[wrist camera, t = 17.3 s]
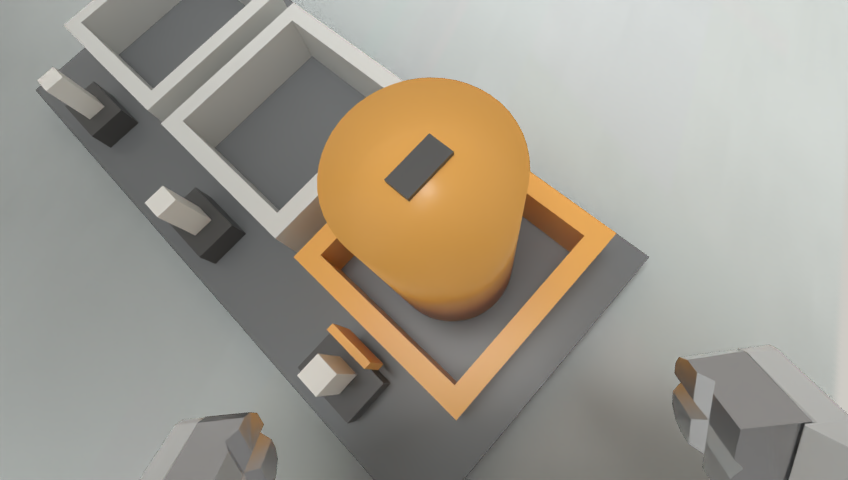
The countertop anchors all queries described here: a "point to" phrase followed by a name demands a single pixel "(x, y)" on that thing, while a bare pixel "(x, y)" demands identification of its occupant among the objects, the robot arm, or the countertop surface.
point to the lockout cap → (429, 192)
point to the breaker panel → (318, 226)
